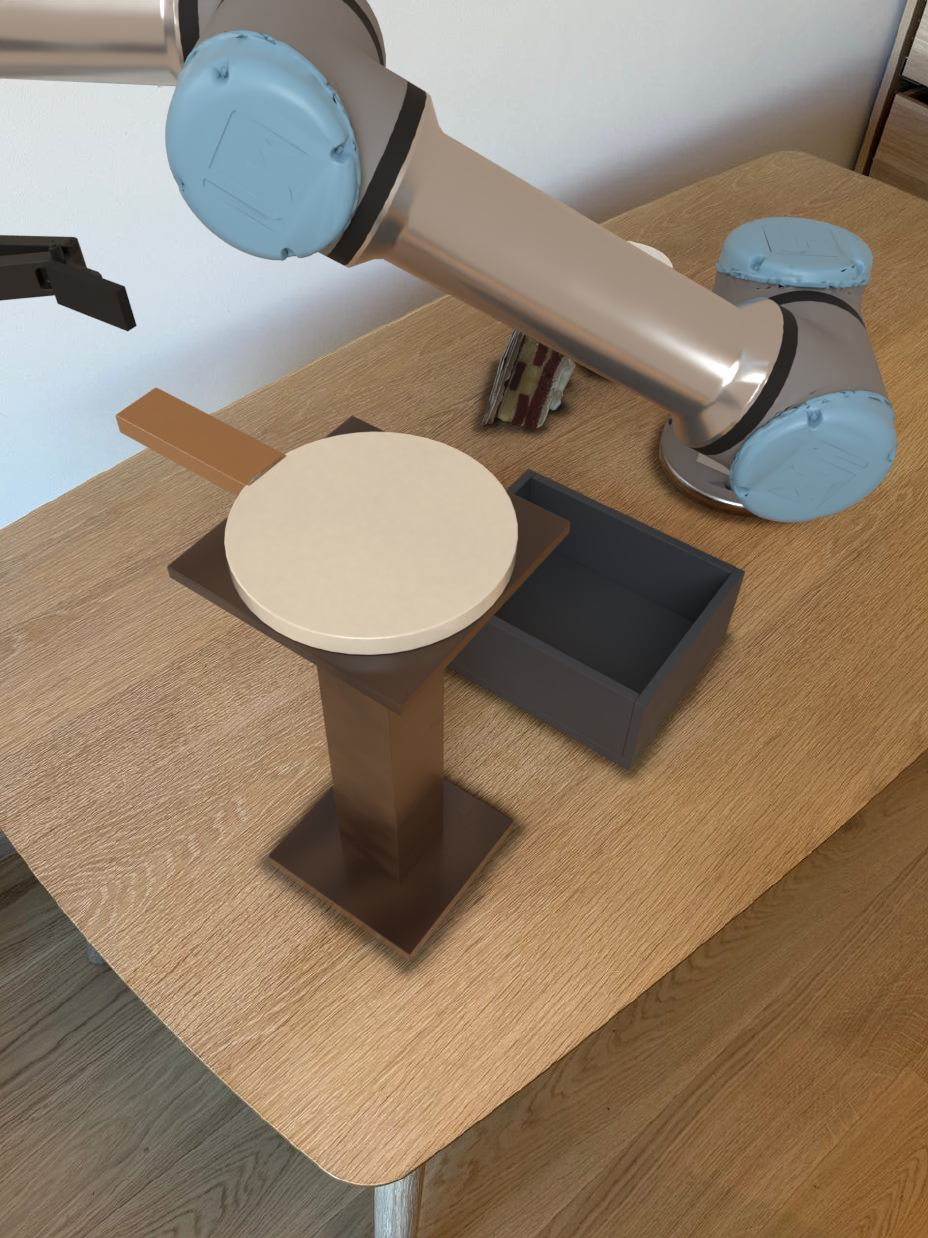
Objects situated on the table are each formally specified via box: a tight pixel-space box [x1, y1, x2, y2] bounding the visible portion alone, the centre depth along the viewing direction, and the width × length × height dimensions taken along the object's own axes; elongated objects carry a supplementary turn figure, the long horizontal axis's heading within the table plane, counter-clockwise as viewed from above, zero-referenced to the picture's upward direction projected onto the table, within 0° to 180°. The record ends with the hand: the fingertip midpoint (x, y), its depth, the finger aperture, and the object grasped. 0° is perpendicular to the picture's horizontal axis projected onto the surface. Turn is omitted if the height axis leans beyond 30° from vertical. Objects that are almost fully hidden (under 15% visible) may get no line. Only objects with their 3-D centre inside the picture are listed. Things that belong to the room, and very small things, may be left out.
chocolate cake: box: [481, 329, 576, 431], centre depth 108 cm, size 10×7×12 cm
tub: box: [446, 468, 746, 771], centre depth 85 cm, size 20×16×8 cm
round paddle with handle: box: [115, 387, 518, 655], centre depth 55 cm, size 23×14×1 cm, turn 55°
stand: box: [166, 415, 570, 963], centre depth 65 cm, size 14×14×30 cm
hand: (40, 363), depth 63 cm, fingers open, 13 cm apart
